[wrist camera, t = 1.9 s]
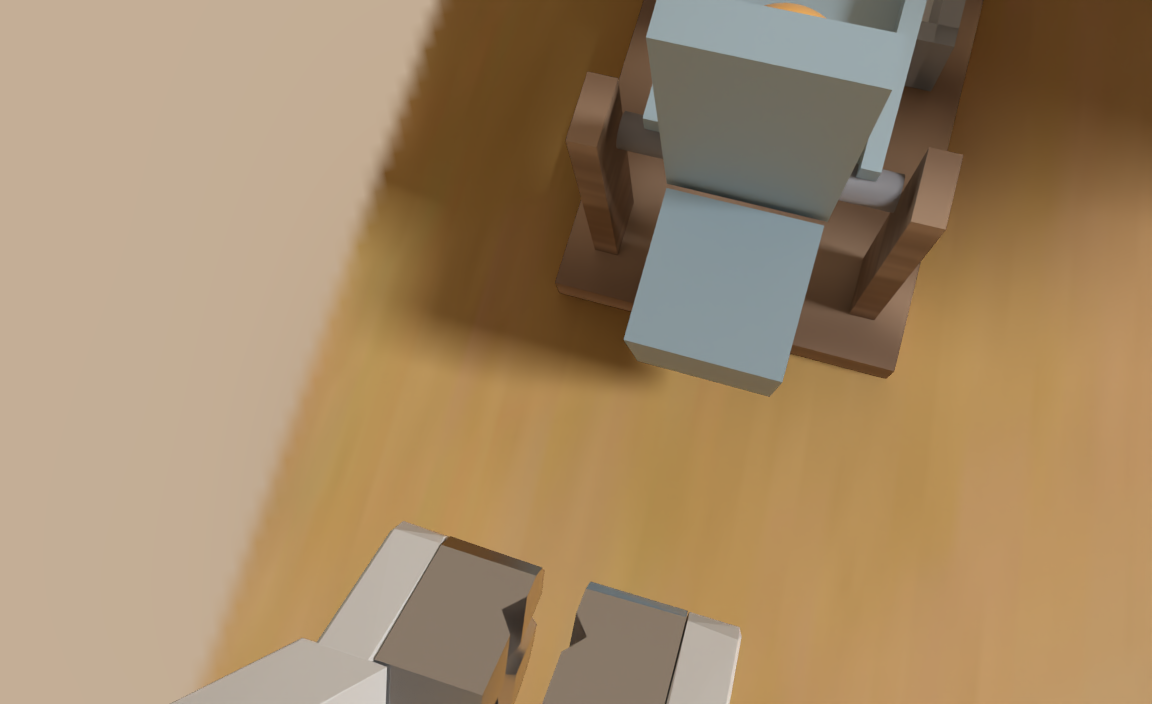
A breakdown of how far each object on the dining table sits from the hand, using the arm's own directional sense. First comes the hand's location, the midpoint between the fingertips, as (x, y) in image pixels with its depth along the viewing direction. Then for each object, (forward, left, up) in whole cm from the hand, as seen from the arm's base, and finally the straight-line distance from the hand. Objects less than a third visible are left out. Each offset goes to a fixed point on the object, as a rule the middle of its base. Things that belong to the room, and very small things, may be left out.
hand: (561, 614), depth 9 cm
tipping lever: (-7, -15, -24) cm, 29 cm away
